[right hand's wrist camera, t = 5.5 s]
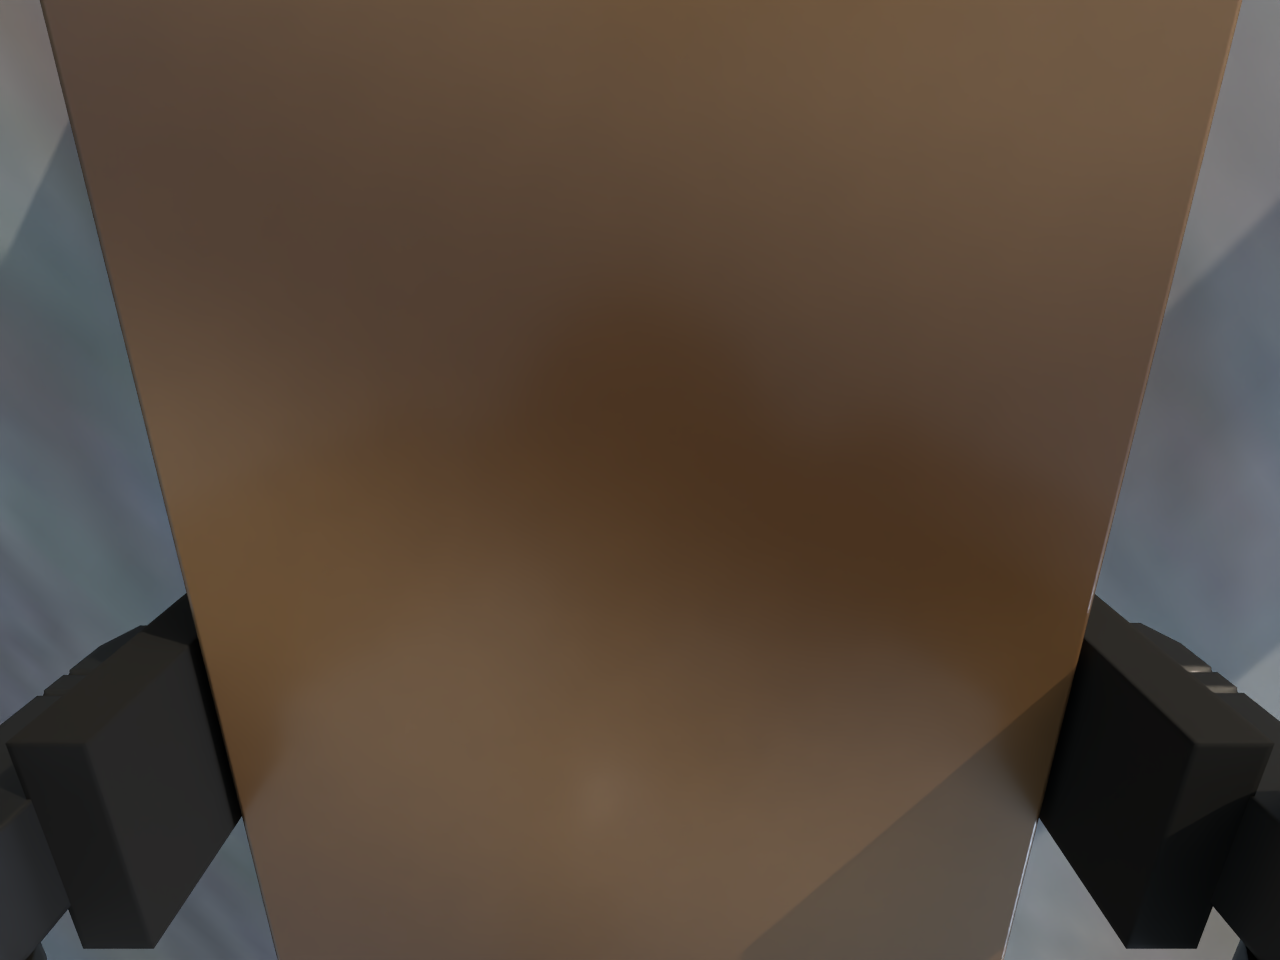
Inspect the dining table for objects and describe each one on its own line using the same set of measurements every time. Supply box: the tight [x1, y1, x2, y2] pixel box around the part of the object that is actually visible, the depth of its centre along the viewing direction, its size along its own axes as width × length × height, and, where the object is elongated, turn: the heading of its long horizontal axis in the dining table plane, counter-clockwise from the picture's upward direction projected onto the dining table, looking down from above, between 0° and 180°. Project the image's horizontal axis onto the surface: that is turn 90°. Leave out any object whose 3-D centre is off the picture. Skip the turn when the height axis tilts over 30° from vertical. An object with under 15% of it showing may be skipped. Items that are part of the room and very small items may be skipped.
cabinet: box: [40, 0, 1242, 960], centre depth 11 cm, size 19×10×9 cm, turn 0°
